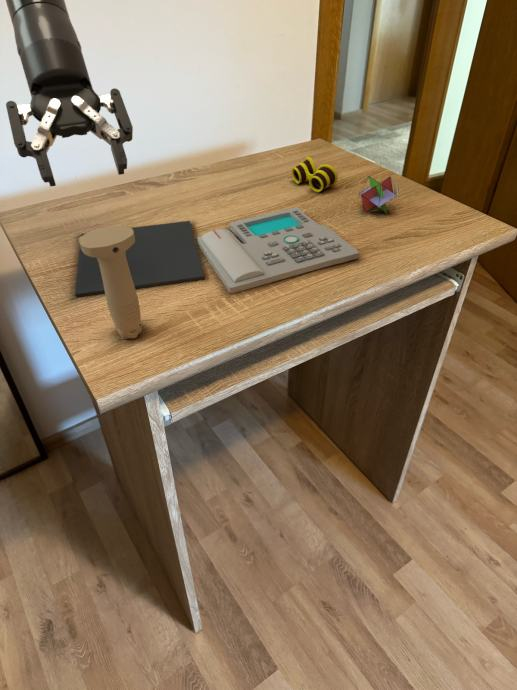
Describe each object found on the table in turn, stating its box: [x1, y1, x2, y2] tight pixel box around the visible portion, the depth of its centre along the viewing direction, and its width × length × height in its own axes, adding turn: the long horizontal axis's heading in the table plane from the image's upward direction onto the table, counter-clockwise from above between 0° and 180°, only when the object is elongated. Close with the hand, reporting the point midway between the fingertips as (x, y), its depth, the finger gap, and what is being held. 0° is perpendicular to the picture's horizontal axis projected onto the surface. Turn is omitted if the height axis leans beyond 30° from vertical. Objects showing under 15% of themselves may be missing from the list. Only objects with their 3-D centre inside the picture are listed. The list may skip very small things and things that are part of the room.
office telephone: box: [197, 207, 360, 294], centre depth 84 cm, size 23×3×20 cm
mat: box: [74, 220, 206, 298], centre depth 83 cm, size 20×20×1 cm
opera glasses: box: [290, 156, 339, 193], centre depth 104 cm, size 10×5×5 cm, turn 38°
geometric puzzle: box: [358, 175, 400, 214], centre depth 93 cm, size 7×7×8 cm
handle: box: [78, 224, 143, 340], centre depth 63 cm, size 5×6×15 cm
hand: (87, 177), depth 61 cm, fingers open, 8 cm apart
